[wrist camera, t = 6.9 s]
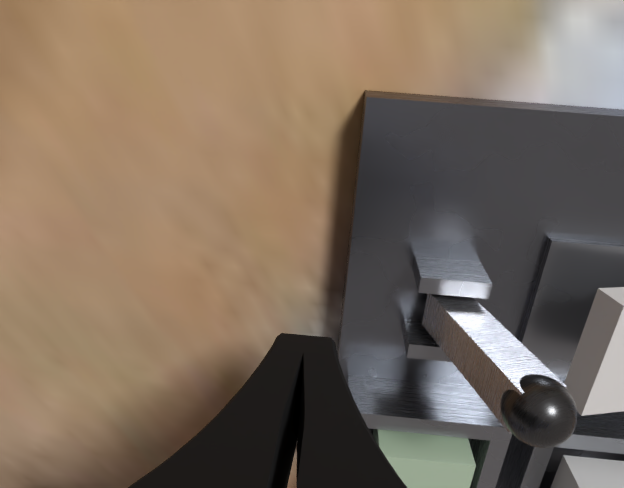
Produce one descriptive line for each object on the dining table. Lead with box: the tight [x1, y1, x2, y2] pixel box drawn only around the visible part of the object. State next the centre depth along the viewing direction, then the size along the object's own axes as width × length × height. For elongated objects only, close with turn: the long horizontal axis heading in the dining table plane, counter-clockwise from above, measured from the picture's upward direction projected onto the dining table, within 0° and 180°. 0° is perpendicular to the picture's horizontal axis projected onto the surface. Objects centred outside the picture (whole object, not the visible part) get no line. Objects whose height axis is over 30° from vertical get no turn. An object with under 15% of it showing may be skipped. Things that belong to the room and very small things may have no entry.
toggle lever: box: [422, 294, 578, 448], centre depth 13 cm, size 2×2×5 cm
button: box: [373, 429, 476, 488], centre depth 17 cm, size 3×3×2 cm
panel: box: [337, 90, 624, 488], centre depth 16 cm, size 18×12×3 cm
